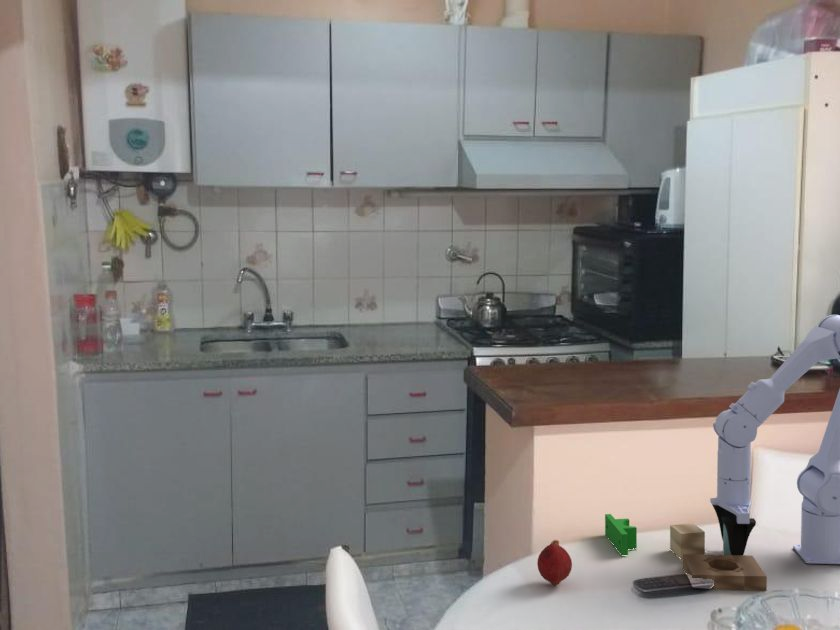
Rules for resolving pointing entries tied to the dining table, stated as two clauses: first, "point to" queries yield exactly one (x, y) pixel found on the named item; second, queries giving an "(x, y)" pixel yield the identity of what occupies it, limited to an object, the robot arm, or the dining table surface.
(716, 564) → the socket block
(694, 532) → the wooden cube block
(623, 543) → the green pronged block
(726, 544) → the teal dowel
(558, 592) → the dining table surface
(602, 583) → the dining table surface
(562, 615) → the dining table surface
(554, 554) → the onion
